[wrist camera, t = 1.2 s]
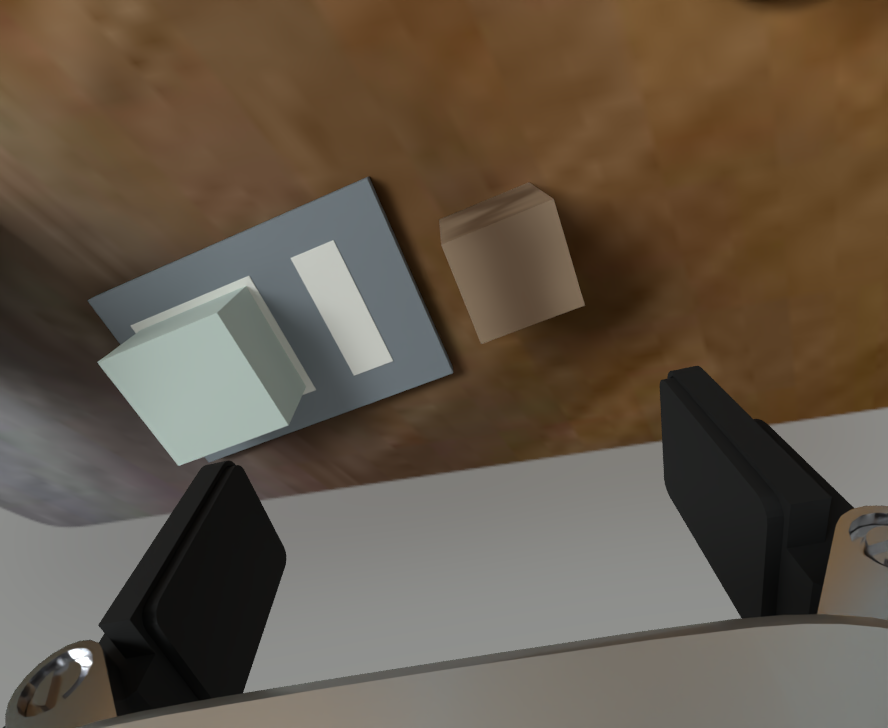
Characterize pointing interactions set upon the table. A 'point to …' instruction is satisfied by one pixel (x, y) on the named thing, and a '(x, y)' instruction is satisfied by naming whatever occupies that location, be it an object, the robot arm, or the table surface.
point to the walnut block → (511, 261)
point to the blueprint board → (307, 302)
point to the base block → (207, 377)
